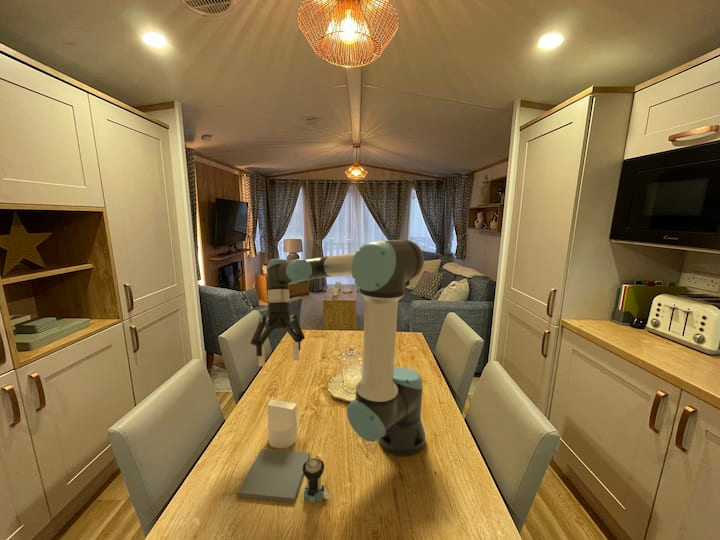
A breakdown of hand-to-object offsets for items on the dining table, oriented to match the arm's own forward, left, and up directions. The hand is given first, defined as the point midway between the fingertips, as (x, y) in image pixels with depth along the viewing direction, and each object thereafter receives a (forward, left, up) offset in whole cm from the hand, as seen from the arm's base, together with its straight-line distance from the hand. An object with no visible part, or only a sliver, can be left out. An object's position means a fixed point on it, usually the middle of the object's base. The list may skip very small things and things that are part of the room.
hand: (279, 363), depth 106 cm
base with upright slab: (-5, +11, -20) cm, 24 cm away
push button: (-20, +31, -20) cm, 42 cm away
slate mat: (-8, +25, -20) cm, 33 cm away
